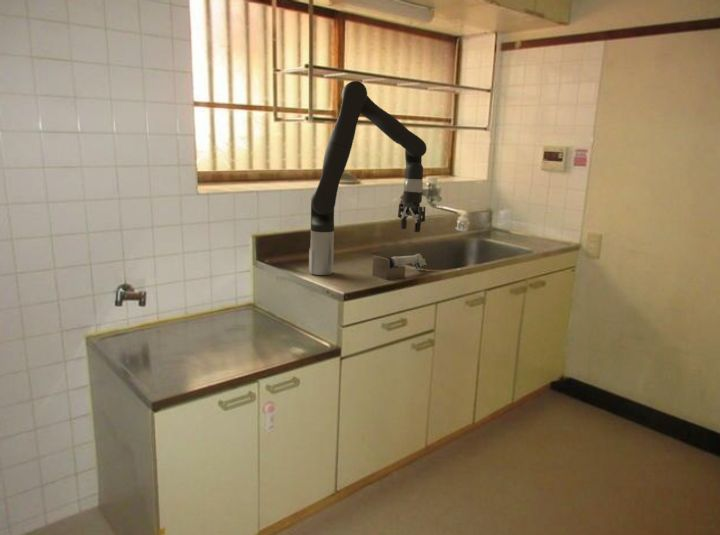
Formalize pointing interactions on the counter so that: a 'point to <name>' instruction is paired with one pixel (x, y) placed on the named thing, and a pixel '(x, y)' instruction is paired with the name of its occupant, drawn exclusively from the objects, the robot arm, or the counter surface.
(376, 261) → the cup bracket
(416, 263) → the grey piece
